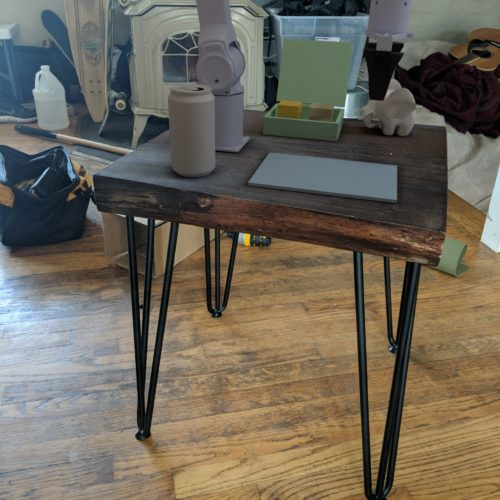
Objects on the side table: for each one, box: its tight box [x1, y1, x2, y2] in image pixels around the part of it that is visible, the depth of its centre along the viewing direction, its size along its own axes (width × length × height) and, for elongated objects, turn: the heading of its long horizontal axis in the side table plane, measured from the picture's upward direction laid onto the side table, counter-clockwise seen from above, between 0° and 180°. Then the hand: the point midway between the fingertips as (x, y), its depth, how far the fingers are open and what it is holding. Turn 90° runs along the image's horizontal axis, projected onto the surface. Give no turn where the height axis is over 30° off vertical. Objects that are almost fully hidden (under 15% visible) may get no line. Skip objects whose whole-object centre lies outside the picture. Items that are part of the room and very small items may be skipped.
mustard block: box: [277, 100, 303, 119], centre depth 96 cm, size 4×4×4 cm
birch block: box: [309, 103, 335, 122], centre depth 95 cm, size 4×4×4 cm
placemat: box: [247, 151, 398, 204], centre depth 75 cm, size 20×14×1 cm
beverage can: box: [167, 83, 216, 178], centre depth 73 cm, size 6×6×12 cm
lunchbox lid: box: [276, 38, 355, 108], centre depth 101 cm, size 12×13×3 cm
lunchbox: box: [262, 102, 345, 142], centre depth 96 cm, size 11×13×3 cm
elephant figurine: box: [354, 78, 423, 137], centre depth 95 cm, size 10×12×9 cm
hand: (377, 94), depth 80 cm, fingers open, 7 cm apart
